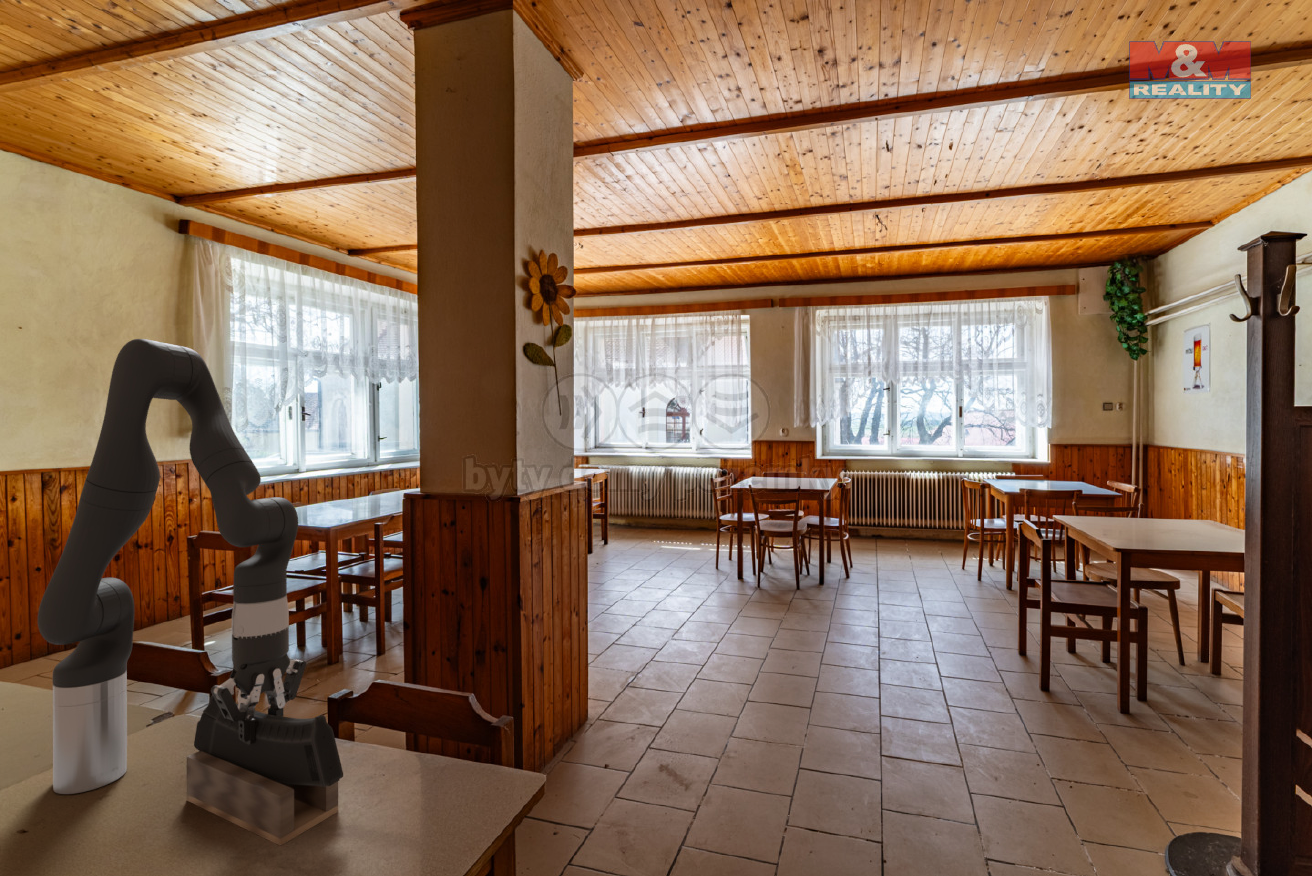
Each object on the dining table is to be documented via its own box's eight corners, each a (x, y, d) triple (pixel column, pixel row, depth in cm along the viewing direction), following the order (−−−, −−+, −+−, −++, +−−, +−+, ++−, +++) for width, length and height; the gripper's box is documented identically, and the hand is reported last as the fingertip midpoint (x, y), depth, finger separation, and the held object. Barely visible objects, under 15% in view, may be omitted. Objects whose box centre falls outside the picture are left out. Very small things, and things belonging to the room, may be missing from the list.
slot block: (186, 800, 99) (186, 756, 99) (245, 772, 107) (245, 732, 107) (280, 845, 88) (280, 796, 88) (338, 811, 96) (338, 766, 96)
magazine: (353, 726, 92) (226, 650, 104) (334, 736, 89) (205, 656, 101) (334, 832, 94) (211, 745, 105) (314, 845, 91) (190, 754, 102)
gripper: (289, 612, 106) (290, 714, 106) (197, 636, 93) (198, 751, 93) (318, 618, 102) (319, 723, 102) (226, 643, 90) (227, 763, 90)
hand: (261, 736), depth 98 cm, fingers closed on magazine, 3 cm apart
